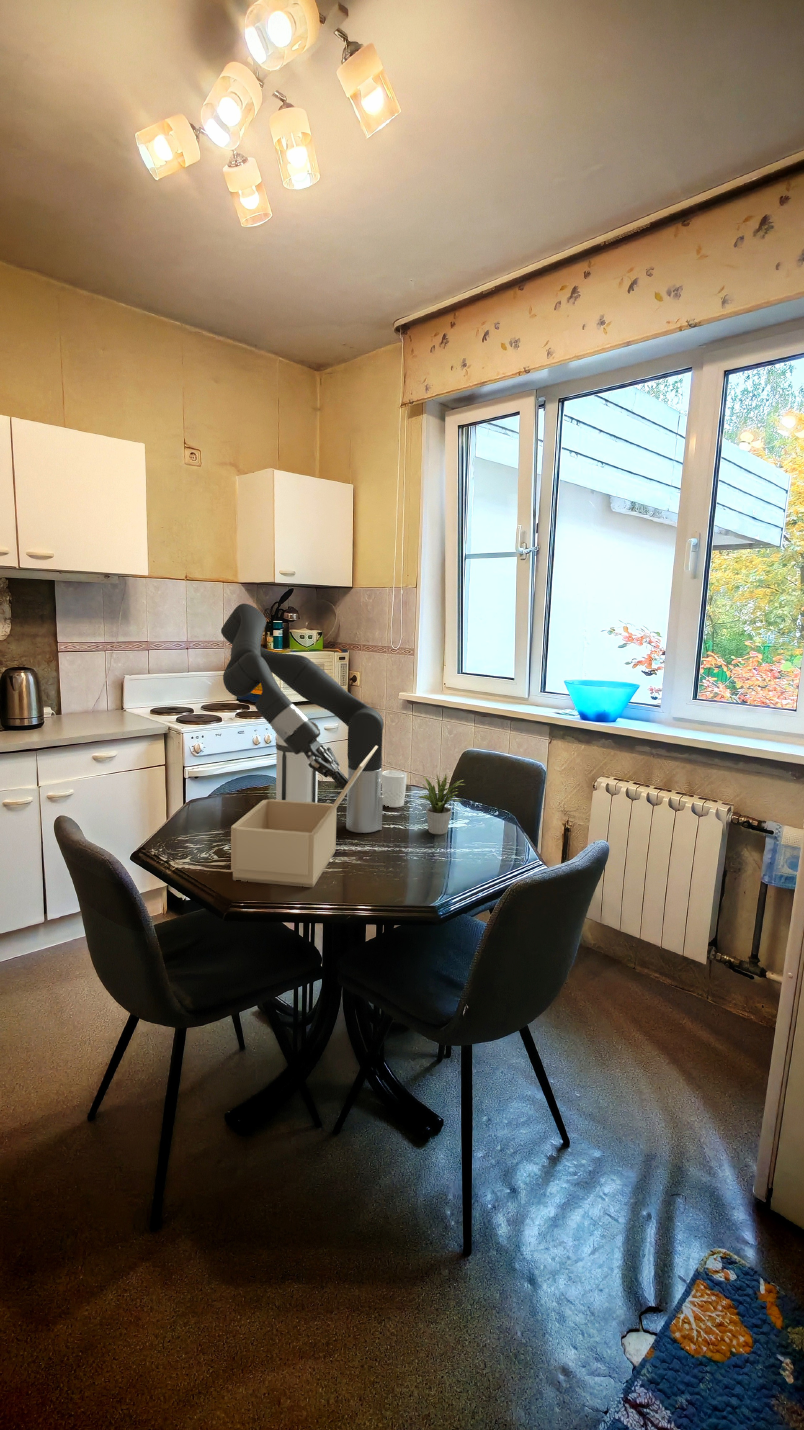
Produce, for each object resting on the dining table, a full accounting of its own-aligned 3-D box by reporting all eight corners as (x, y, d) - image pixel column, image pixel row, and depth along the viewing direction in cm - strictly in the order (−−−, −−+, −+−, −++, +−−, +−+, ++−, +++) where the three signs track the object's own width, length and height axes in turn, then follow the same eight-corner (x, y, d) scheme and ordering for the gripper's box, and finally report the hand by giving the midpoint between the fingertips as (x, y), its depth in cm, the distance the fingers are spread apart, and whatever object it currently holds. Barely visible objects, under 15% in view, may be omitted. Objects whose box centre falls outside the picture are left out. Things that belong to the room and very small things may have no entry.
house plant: (469, 842, 173) (473, 782, 170) (418, 841, 172) (420, 781, 169) (460, 824, 187) (464, 769, 184) (413, 823, 186) (415, 768, 183)
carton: (335, 850, 163) (337, 804, 161) (312, 888, 140) (313, 835, 138) (264, 844, 165) (264, 798, 163) (229, 881, 142) (229, 828, 140)
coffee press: (334, 810, 195) (336, 711, 191) (298, 823, 182) (300, 717, 177) (291, 799, 205) (292, 705, 200) (254, 811, 191) (254, 710, 186)
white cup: (387, 809, 199) (388, 777, 197) (376, 802, 206) (377, 771, 204) (410, 806, 202) (411, 775, 201) (398, 799, 209) (399, 769, 208)
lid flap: (336, 803, 160) (338, 805, 160) (314, 832, 139) (316, 834, 139) (376, 745, 157) (378, 746, 157) (359, 765, 135) (362, 767, 135)
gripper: (292, 734, 154) (340, 788, 155) (274, 745, 141) (327, 804, 142) (314, 714, 153) (363, 768, 153) (298, 723, 140) (352, 782, 140)
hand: (346, 785), depth 147 cm, fingers closed
